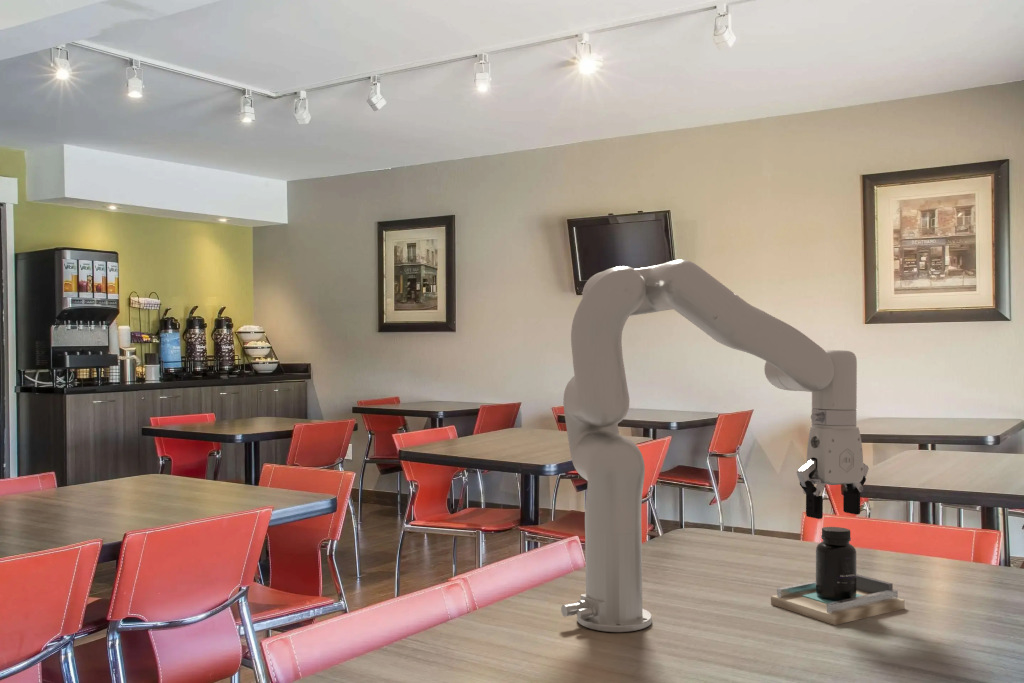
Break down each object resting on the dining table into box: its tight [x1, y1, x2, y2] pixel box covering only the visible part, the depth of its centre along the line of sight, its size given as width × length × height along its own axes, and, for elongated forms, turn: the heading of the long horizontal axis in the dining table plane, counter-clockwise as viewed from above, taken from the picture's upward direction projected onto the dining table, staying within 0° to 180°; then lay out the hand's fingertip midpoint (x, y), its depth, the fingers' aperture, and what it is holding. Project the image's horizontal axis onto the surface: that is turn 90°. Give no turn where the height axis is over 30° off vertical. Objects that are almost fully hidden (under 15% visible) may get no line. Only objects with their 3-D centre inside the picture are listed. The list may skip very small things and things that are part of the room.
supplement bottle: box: [815, 526, 858, 601], centre depth 154 cm, size 7×7×12 cm
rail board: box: [770, 574, 906, 626], centre depth 154 cm, size 18×14×4 cm
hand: (833, 515), depth 154 cm, fingers open, 9 cm apart
